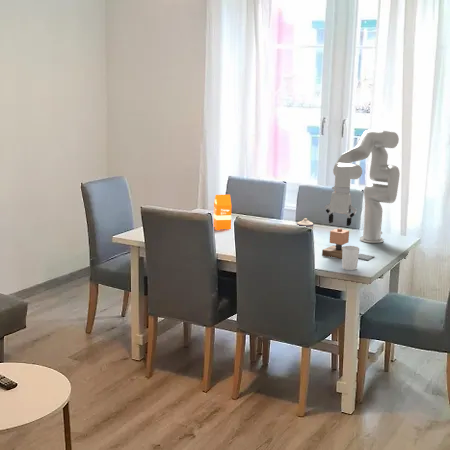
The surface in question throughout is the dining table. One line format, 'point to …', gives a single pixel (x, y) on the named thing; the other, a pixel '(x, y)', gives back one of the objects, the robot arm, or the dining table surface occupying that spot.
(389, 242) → the dining table surface
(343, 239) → the peach cube
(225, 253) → the dining table surface
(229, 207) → the orange juice
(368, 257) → the coaster
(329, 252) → the post base
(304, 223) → the teacup with lid
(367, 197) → the robot arm
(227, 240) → the dining table surface
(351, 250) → the white cup
